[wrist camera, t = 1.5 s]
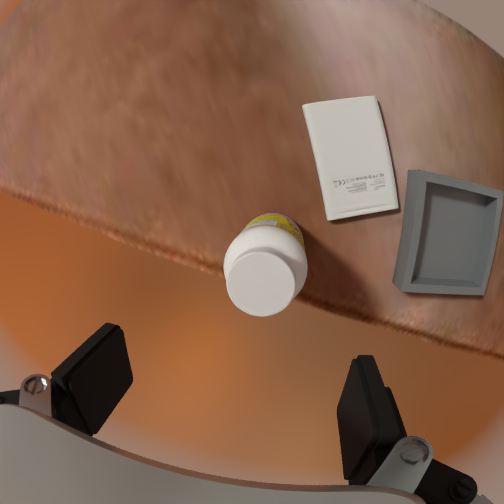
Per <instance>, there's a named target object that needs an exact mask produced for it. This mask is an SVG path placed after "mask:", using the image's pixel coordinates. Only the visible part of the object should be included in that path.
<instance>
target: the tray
mask: <svg viewBox="0 0 504 504" xmlns="http://www.w3.org/2000/svg"><path fill="white" fill-rule="evenodd" d="M502 202H503V191H500V190H496V189H493V188H490V187H486V186H483V185H479V184H476V183H472V182H468V181H464V180H461V179H457V178H452V177H448V176H444V175H440V174H435V173H431V172H426V171H421V170H408V178H407V190H406V200H405V209H404V217H403V225H402V232H401V238H400V244H399V250H398V256H397V262H396V267H395V272H394V277H393V281H392V282H393V283H394V284H395V285H396V287H397V288H398V289H399V290H400V291H401V292H415V293H436V294H461V295H484V293H485V289H486V286H487V282H488V278H489V274H490V270H491V266H492V262H493V257H494V253H495V248H496V243H497V237H498V231H499V225H500V218H501V211H502Z"/></svg>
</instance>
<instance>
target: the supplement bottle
mask: <svg viewBox="0 0 504 504" xmlns="http://www.w3.org/2000/svg"><path fill="white" fill-rule="evenodd" d="M224 274H225V278H226V281H227V283H226V284H227V291H228V294H229V296H230V298H231V300H232V301H233V302H234V304H235V305H236V306H237V307H238V308H239V309H241V310H242V311H244V312H246V313H248V314H251V315H254V316H270V315H274V314H276V313H278V312H280V311H282V310H283V309H284V308H285V307H286V306H288V304H289V303H290V302H291V300H292V299H293V298H294V297H295V296H296V295H297V294H298V293H299V292H300V290H301V289H302V287H303V285H304V283H305V280H306V277H307V258H306V252H305V245H304V240H303V236H302V233H301V231H300V229H299V227H298V226H297V225H296V223H295V222H294V221H293V220H291V219H290V218H288V217H286V216H284V215H282V214H277V213H267V214H263V215H260V216H258V217H256V218H255V219H253V220H252V221H251V222H250V223H249V224H248V225H247V226H246V227H245V228H244V230H243V231H242V232H241V233H240V234H239V235H238V236H237V237H236V238H235V240H234V241H233V242H232V243H231V245H230V246H229V248H228V250H227V252H226V255H225V259H224Z"/></svg>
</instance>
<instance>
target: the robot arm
mask: <svg viewBox="0 0 504 504" xmlns="http://www.w3.org/2000/svg"><path fill="white" fill-rule="evenodd" d="M51 376H52V378H51V379H49V378H48V377H47V376H45V375H42V374H34V375H30V376H29V377H27V378H26V379H24V380H23V382H22V384H21V388H20V389H19V390H12V391H5V392H0V504H493V503H492V502H491V501H490V500H489V499H487V498H486V497H485V496H484V495H483V494H482V495H481V496H479V495H478V494H477V484H476V482H475V481H474V480H473V478H472V477H470V476H468V475H466V474H464V473H462V472H460V471H457V470H455V469H453V468H451V467H449V466H447V465H445V464H442V463H441V462H439V461H437V460H435V459H432V457H433V449H432V447H431V445H430V444H429V442H427V440H425V439H423V438H421V437H418V436H408V437H407V434H406V431H405V428H404V425H403V422H402V419H401V416H400V413H399V410H398V408H397V405H396V402H395V399H394V397H393V394H392V391H391V389H390V388H389V387H385V386H384V383H383V381H382V378H381V375H380V373H379V370H378V367H377V365H376V362H375V359H374V357H373V356H372V355H358V357H357V359H353V360H352V362H351V366H350V369H349V373H348V376H347V379H346V382H345V386H344V389H343V391H342V394H341V398H340V401H339V403H338V406H337V420H338V428H339V435H340V445H341V454H342V462H343V463H342V464H343V474H344V479H345V480H349V485H293V484H276V483H265V482H255V481H247V480H239V479H233V478H227V477H221V476H215V475H210V474H205V473H200V472H196V471H192V470H187V469H183V468H179V467H175V466H172V465H168V464H165V463H161V462H158V461H154V460H151V459H148V458H145V457H142V456H139V455H136V454H133V453H131V452H128V451H125V450H122V449H120V448H117V447H115V446H112V445H110V444H107V443H105V442H102V441H100V440H98V439H96V438H93V437H92V436H93V434H97V433H98V431H99V430H100V428H101V427H102V425H103V424H104V423H105V421H106V420H107V418H108V417H109V415H110V414H111V413H112V411H113V410H114V408H115V407H116V406H117V404H118V403H119V401H120V400H121V399H122V397H123V396H124V394H125V393H126V391H127V390H128V389H129V387H130V386H131V384H132V382H133V375H132V371H131V366H130V362H129V357H128V353H127V348H126V343H125V338H124V333H123V330H121V328H120V326H118V325H115V324H111V323H105V324H104V325H103V326H102V327H101V328H100V329H98V330H97V331H96V332H95V333H94V334H93V335H92V336H91V337H90V338H88V339H87V340H86V341H85V342H84V343H83V344H82V345H81V346H80V347H79V348H77V349H76V350H75V351H74V352H73V353H72V354H71V355H70V356H69V357H68V358H67V359H66V360H64V361H63V362H62V363H61V364H60V365H59V366H58V367H57V368H56V369H55V370H54V371H53V372H52V373H51Z"/></svg>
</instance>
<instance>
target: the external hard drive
mask: <svg viewBox="0 0 504 504" xmlns="http://www.w3.org/2000/svg"><path fill="white" fill-rule="evenodd" d="M302 108H303V112H304V116H305V120H306V124H307V127H308V131H309V135H310V140H311V144H312V148H313V153H314V157H315V161H316V166H317V170H318V175H319V180H320V185H321V190H322V195H323V200H324V205H325V211H326V216H327V220H336V219H341V218H346V217H352V216H357V215H363V214H369V213H374V212H380V211H386V210H392V209H397V208H398V200H397V192H396V185H395V179H394V173H393V167H392V162H391V157H390V152H389V147H388V142H387V137H386V133H385V129H384V125H383V121H382V117H381V113H380V109H379V106H378V102H377V99H376V96H365V97H355V98H346V99H338V100H330V101H323V102H316V103H310V104H305V105H303V107H302Z"/></svg>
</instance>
